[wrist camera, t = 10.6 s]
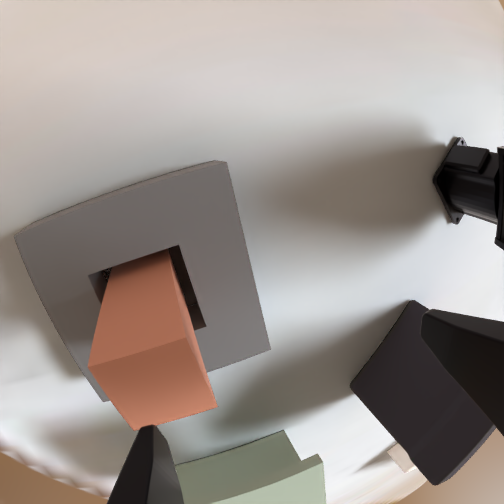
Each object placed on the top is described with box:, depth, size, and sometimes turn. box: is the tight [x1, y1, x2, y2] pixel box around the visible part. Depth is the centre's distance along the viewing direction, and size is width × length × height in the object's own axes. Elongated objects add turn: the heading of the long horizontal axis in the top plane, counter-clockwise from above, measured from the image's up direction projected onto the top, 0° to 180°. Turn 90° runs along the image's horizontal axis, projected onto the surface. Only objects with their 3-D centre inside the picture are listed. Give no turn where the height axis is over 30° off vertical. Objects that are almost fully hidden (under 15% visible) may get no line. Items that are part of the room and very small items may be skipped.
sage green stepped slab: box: [175, 430, 326, 504], centre depth 20 cm, size 12×10×10 cm
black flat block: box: [350, 300, 496, 485], centre depth 22 cm, size 11×4×15 cm, turn 145°
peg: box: [88, 248, 218, 431], centre depth 14 cm, size 4×4×10 cm
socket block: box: [14, 161, 271, 402], centre depth 17 cm, size 12×12×3 cm
